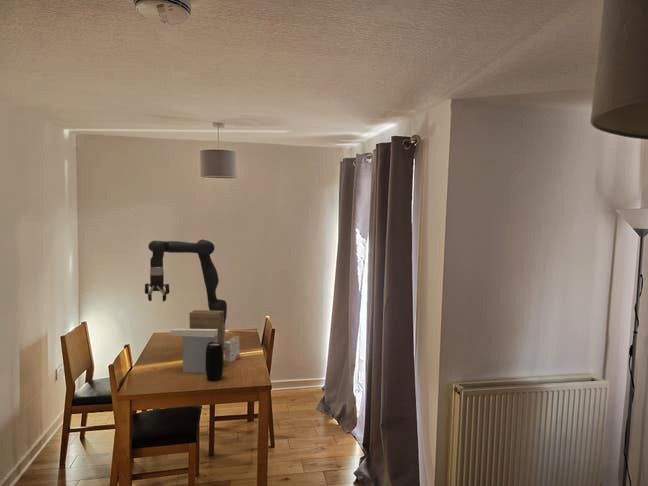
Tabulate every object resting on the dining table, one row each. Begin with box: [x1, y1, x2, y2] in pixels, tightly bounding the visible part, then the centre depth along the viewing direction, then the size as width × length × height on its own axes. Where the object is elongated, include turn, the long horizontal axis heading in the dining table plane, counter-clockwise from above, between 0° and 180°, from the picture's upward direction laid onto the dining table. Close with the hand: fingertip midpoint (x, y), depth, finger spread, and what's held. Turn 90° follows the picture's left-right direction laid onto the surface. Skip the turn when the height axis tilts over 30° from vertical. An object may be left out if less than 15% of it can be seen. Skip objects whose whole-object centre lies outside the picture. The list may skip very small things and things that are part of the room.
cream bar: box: [170, 328, 218, 337], centre depth 246 cm, size 4×26×3 cm, turn 90°
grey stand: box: [182, 335, 218, 374], centre depth 247 cm, size 7×18×21 cm, turn 85°
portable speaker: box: [205, 342, 224, 382], centre depth 235 cm, size 9×9×20 cm
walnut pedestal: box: [189, 309, 225, 364], centre depth 257 cm, size 8×18×32 cm, turn 85°
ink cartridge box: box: [224, 335, 240, 363], centre depth 267 cm, size 9×5×15 cm, turn 148°
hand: (157, 301), depth 257 cm, fingers open, 8 cm apart
